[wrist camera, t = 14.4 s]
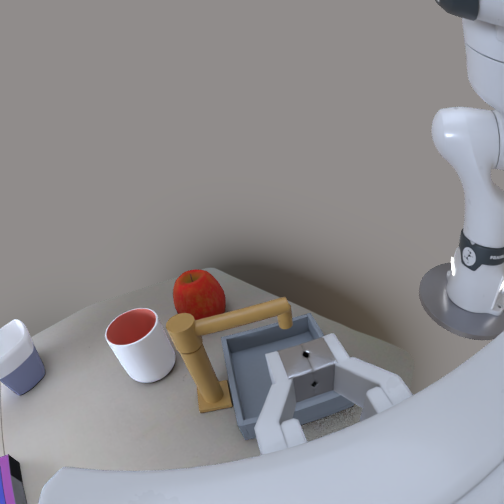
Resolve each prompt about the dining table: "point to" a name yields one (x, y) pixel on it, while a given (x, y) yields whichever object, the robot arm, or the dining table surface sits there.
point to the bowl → (19, 358)
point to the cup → (141, 345)
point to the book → (11, 482)
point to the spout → (224, 322)
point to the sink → (258, 377)
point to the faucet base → (207, 382)
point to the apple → (198, 294)
